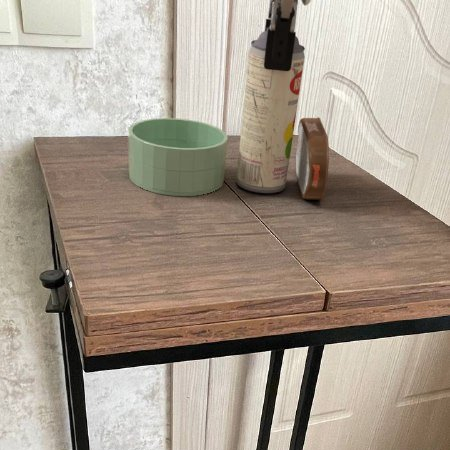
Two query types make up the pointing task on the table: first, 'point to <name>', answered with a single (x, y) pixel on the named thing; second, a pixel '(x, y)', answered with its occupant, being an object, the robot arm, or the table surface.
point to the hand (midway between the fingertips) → (275, 61)
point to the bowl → (176, 156)
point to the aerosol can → (268, 120)
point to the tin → (312, 158)
